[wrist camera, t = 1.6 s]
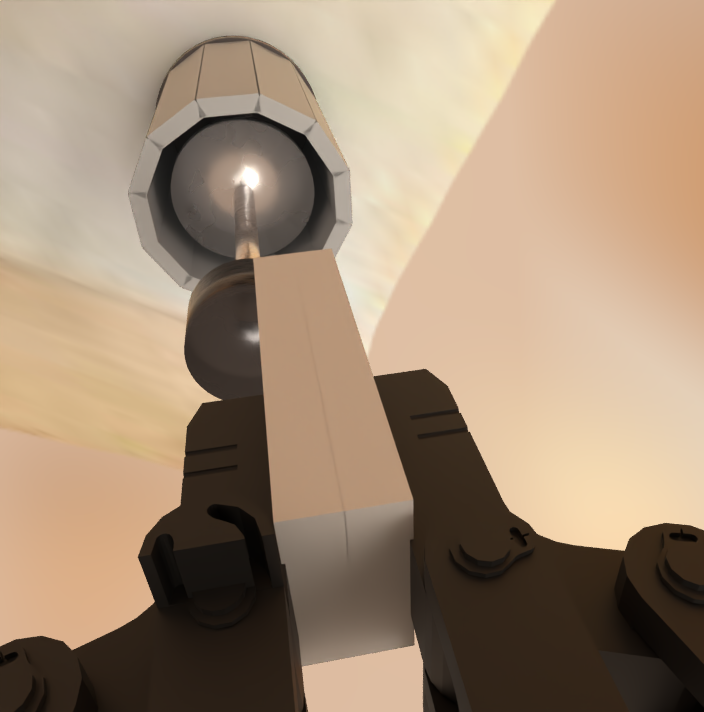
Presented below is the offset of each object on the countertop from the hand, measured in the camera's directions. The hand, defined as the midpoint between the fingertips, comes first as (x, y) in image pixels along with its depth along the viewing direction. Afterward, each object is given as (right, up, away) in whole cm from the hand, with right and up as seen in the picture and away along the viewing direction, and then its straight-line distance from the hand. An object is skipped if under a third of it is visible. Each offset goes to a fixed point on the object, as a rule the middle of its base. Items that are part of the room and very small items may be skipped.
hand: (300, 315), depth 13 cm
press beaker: (-7, +14, +31) cm, 35 cm away
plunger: (-5, +8, +20) cm, 22 cm away
